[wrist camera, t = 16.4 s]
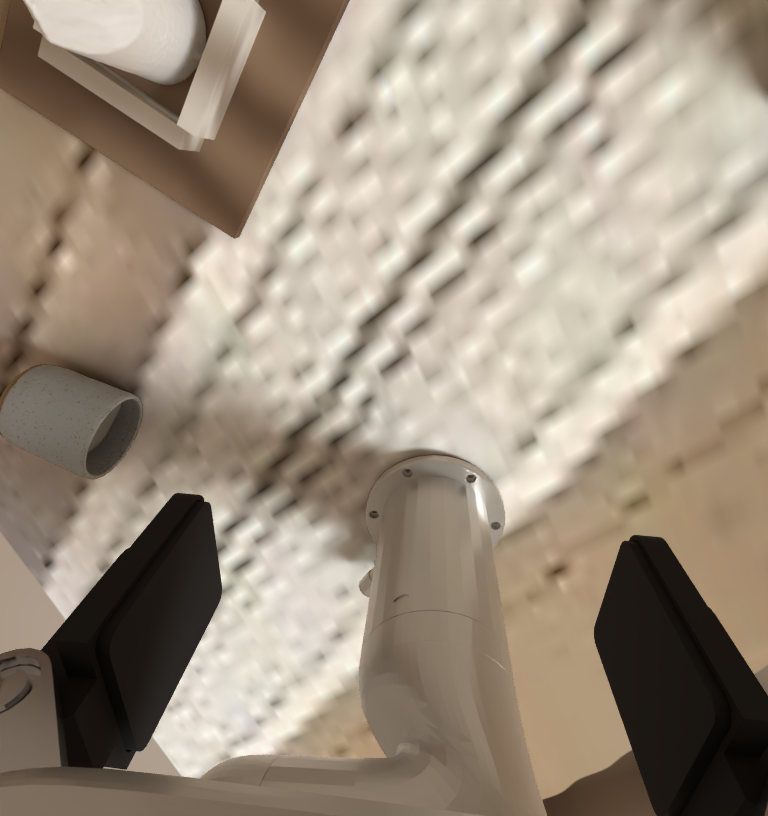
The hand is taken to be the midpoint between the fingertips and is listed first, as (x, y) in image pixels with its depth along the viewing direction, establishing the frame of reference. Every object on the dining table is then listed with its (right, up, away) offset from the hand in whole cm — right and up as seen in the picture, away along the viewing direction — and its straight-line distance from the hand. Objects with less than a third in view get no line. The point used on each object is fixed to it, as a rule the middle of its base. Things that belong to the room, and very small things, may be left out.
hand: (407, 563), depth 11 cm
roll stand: (-14, +28, +20) cm, 37 cm away
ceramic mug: (-26, +3, +33) cm, 42 cm away
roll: (-14, +27, +19) cm, 36 cm away
